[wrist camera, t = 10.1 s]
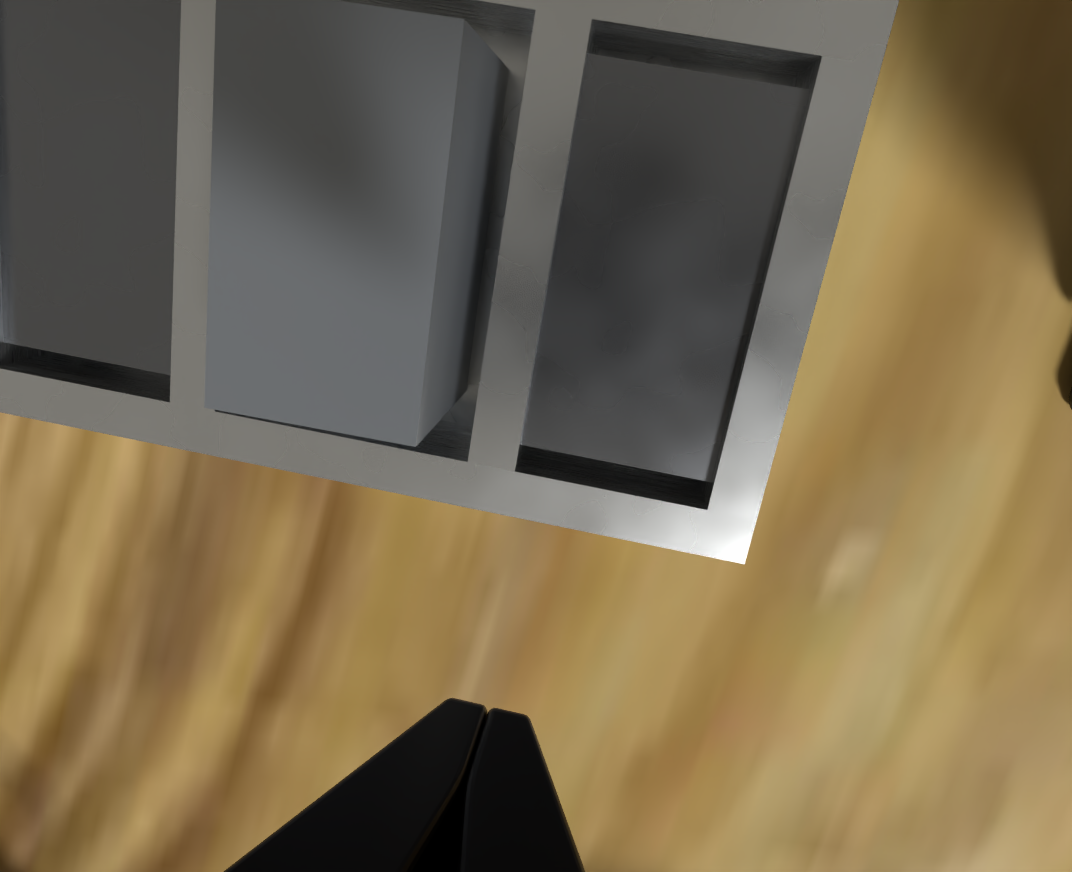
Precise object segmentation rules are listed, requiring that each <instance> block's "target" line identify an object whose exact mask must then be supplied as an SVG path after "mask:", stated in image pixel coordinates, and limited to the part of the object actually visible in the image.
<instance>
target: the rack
mask: <svg viewBox="0 0 1072 872" xmlns="http://www.w3.org/2000/svg"><path fill="white" fill-rule="evenodd" d="M337 1H344V2H351V3H358V4H365V5H371V6H378V7H385V8H392V9H399V10H406V11H412V12H419V13H426V14H433V15H440V16H446V17H453V18H460V19H465V20H466V21H467V23H468V24H469V25H470V26H471V27H472V28H473V29H474V30H475V32H476V33H477V34H478V35H479V36H480V37H481V38H482V39H483V41H484V42H485V43H486V44H487V45H488V46H489V47H490V48H491V50H492V51H493V52H494V53H495V54H496V55H497V56H498V57H499V59H500V60H501V61H502V62H503V63H504V64H505V65H506V66H507V68H508V69H509V70H508V78H507V85H506V93H505V100H504V108H503V116H502V123H501V131H500V139H499V146H498V154H497V161H496V169H495V177H494V184H493V192H492V200H491V207H490V215H489V222H488V230H487V238H486V245H485V253H484V261H483V268H482V276H481V283H480V291H479V299H478V306H477V314H476V322H475V329H474V337H473V344H472V352H471V360H470V367H469V375H468V383H467V390H466V392H465V393H464V394H463V395H462V396H461V398H460V399H459V400H458V401H457V402H456V403H455V404H454V405H453V406H452V408H451V409H450V410H449V411H448V412H447V413H446V414H445V415H444V416H443V417H442V419H441V420H440V421H439V422H438V423H437V424H436V425H435V426H434V427H433V429H432V430H431V431H430V432H429V433H428V434H427V435H426V436H425V437H424V438H423V440H422V441H421V442H420V443H419V444H418V445H417V446H416V447H413V446H408V445H402V444H397V443H392V442H386V441H381V440H376V439H370V438H365V437H359V436H354V435H349V434H343V433H338V432H333V431H327V430H322V429H316V428H311V427H306V426H300V425H295V424H290V423H284V422H279V421H274V420H268V419H263V418H257V417H252V416H247V415H241V414H236V413H231V412H225V411H220V410H214V409H209V408H204V401H205V365H206V330H207V295H208V260H209V224H210V189H211V154H212V118H213V83H214V48H215V12H216V0H0V412H2V413H7V414H12V415H16V416H21V417H26V418H31V419H36V420H41V421H46V422H51V423H56V424H61V425H65V426H70V427H75V428H80V429H85V430H90V431H95V432H100V433H105V434H109V435H114V436H119V437H124V438H129V439H134V440H139V441H144V442H149V443H154V444H158V445H163V446H168V447H173V448H178V449H183V450H188V451H193V452H198V453H203V454H207V455H212V456H217V457H222V458H227V459H232V460H237V461H242V462H247V463H252V464H256V465H261V466H266V467H271V468H276V469H281V470H286V471H291V472H296V473H301V474H305V475H310V476H315V477H320V478H325V479H330V480H335V481H340V482H345V483H350V484H354V485H359V486H364V487H369V488H374V489H379V490H384V491H389V492H394V493H398V494H403V495H408V496H413V497H418V498H423V499H428V500H433V501H438V502H443V503H447V504H452V505H457V506H462V507H467V508H472V509H477V510H482V511H487V512H492V513H496V514H501V515H506V516H511V517H516V518H521V519H526V520H531V521H536V522H541V523H545V524H550V525H555V526H560V527H565V528H570V529H575V530H580V531H585V532H590V533H594V534H599V535H604V536H609V537H614V538H619V539H624V540H629V541H634V542H639V543H643V544H648V545H653V546H658V547H663V548H668V549H673V550H678V551H683V552H687V553H692V554H697V555H702V556H707V557H712V558H717V559H722V560H727V561H732V562H736V563H741V564H745V560H746V557H747V553H748V549H749V546H750V542H751V538H752V535H753V531H754V527H755V524H756V520H757V517H758V513H759V509H760V506H761V502H762V498H763V495H764V491H765V487H766V484H767V480H768V476H769V473H770V469H771V465H772V462H773V458H774V455H775V451H776V447H777V444H778V440H779V436H780V433H781V429H782V425H783V422H784V418H785V414H786V411H787V407H788V404H789V400H790V396H791V393H792V389H793V385H794V382H795V378H796V374H797V371H798V367H799V363H800V360H801V356H802V353H803V349H804V345H805V342H806V338H807V334H808V331H809V327H810V323H811V320H812V316H813V312H814V309H815V305H816V302H817V298H818V294H819V291H820V287H821V283H822V280H823V276H824V272H825V269H826V265H827V261H828V258H829V254H830V250H831V247H832V243H833V240H834V236H835V232H836V229H837V225H838V221H839V218H840V214H841V210H842V207H843V203H844V199H845V196H846V192H847V189H848V185H849V181H850V178H851V174H852V170H853V167H854V163H855V159H856V156H857V152H858V148H859V145H860V141H861V138H862V134H863V130H864V127H865V123H866V119H867V116H868V112H869V108H870V105H871V101H872V97H873V94H874V90H875V86H876V83H877V79H878V76H879V72H880V68H881V65H882V61H883V57H884V54H885V50H886V46H887V43H888V39H889V35H890V32H891V28H892V25H893V21H894V17H895V14H896V10H897V6H898V3H899V0H337Z"/></svg>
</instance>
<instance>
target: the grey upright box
mask: <svg viewBox="0 0 1072 872" xmlns="http://www.w3.org/2000/svg"><path fill="white" fill-rule="evenodd" d="M508 70H509V69H508V68H507V66H506V65H505V64H504V63H503V62H502V61H501V60H500V59H499V57H498V56H497V55H496V54H495V53H494V52H493V51H492V50H491V48H490V47H489V46H488V45H487V44H486V43H485V42H484V41H483V39H482V38H481V37H480V36H479V35H478V34H477V33H476V32H475V30H474V29H473V28H472V27H471V26H470V25H469V24H468V23H467V21H466V20H465V19H460V18H453V17H446V16H440V15H433V14H426V13H419V12H412V11H406V10H399V9H392V8H385V7H378V6H371V5H365V4H358V3H351V2H344V1H337V0H216V12H215V48H214V83H213V118H212V154H211V189H210V224H209V260H208V295H207V330H206V365H205V401H204V408H209V409H214V410H220V411H225V412H231V413H236V414H241V415H247V416H252V417H257V418H263V419H268V420H274V421H279V422H284V423H290V424H295V425H300V426H306V427H311V428H316V429H322V430H327V431H333V432H338V433H343V434H349V435H354V436H359V437H365V438H370V439H376V440H381V441H386V442H392V443H397V444H402V445H408V446H413V447H416V446H417V445H418V444H419V443H420V442H421V441H422V440H423V438H424V437H425V436H426V435H427V434H428V433H429V432H430V431H431V430H432V429H433V427H434V426H435V425H436V424H437V423H438V422H439V421H440V420H441V419H442V417H443V416H444V415H445V414H446V413H447V412H448V411H449V410H450V409H451V408H452V406H453V405H454V404H455V403H456V402H457V401H458V400H459V399H460V398H461V396H462V395H463V394H464V393H465V392H466V390H467V383H468V375H469V367H470V360H471V352H472V344H473V337H474V329H475V322H476V314H477V306H478V299H479V291H480V283H481V276H482V268H483V261H484V253H485V245H486V238H487V230H488V222H489V215H490V207H491V200H492V192H493V184H494V177H495V169H496V161H497V154H498V146H499V139H500V131H501V123H502V116H503V108H504V100H505V93H506V85H507V78H508Z"/></svg>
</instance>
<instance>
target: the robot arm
mask: <svg viewBox="0 0 1072 872" xmlns="http://www.w3.org/2000/svg"><path fill="white" fill-rule="evenodd" d="M1069 404H1070V407H1071V409H1072V389H1071V391H1070V396H1069ZM224 872H585V870H584V867H583V864H582V861H581V859H580V856H579V853H578V850H577V848H576V845H575V842H574V839H573V836H572V834H571V831H570V828H569V825H568V823H567V820H566V817H565V814H564V812H563V809H562V806H561V803H560V800H559V798H558V795H557V792H556V789H555V787H554V784H553V781H552V778H551V776H550V773H549V770H548V767H547V764H546V762H545V759H544V756H543V753H542V751H541V748H540V745H539V742H538V740H537V737H536V734H535V731H534V728H533V726H532V723H531V721H530V719H529V717H528V716H527V715H524V714H520V713H516V712H511V711H507V710H503V709H498V708H493V709H491V710H490V711H489V712H488V714H487V709H486V707H485V706H484V705H481V704H477V703H473V702H468V701H464V700H460V699H455V698H450V699H447V700H445V701H444V702H442V703H441V704H440V705H439V706H437V707H436V708H435V709H433V710H432V711H431V712H430V713H428V714H427V715H426V716H424V717H423V718H422V719H420V720H419V721H418V722H417V723H415V724H414V725H413V726H411V727H410V728H409V729H408V730H406V731H405V732H404V733H402V734H401V735H400V736H398V737H397V738H396V739H395V740H393V741H392V742H391V743H389V744H388V745H387V746H386V747H384V748H383V749H382V750H380V751H379V752H378V753H376V754H375V755H374V756H373V757H371V758H370V759H369V760H367V761H366V762H365V763H364V764H362V765H361V766H360V767H358V768H357V769H356V770H354V771H353V772H352V773H351V774H349V775H348V776H347V777H345V778H344V779H343V780H342V781H340V782H339V783H338V784H336V785H335V786H334V787H332V788H331V789H330V790H329V791H327V792H326V793H325V794H323V795H322V796H321V797H320V798H318V799H317V800H316V801H314V802H313V803H312V804H310V805H309V806H308V807H307V808H305V809H304V810H303V811H301V812H300V813H299V814H298V815H296V816H295V817H294V818H292V819H291V820H290V821H288V822H287V823H286V824H285V825H283V826H282V827H281V828H279V829H278V830H277V831H276V832H274V833H273V834H272V835H270V836H269V837H268V838H266V839H265V840H264V841H263V842H261V843H260V844H259V845H257V846H256V847H255V848H254V849H252V850H251V851H250V852H248V853H247V854H246V855H244V856H243V857H242V858H241V859H239V860H238V861H237V862H235V863H234V864H233V865H232V866H230V867H229V868H228V869H226V870H225V871H224Z"/></svg>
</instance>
